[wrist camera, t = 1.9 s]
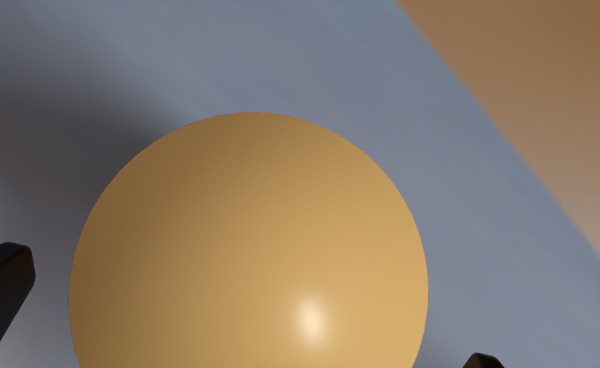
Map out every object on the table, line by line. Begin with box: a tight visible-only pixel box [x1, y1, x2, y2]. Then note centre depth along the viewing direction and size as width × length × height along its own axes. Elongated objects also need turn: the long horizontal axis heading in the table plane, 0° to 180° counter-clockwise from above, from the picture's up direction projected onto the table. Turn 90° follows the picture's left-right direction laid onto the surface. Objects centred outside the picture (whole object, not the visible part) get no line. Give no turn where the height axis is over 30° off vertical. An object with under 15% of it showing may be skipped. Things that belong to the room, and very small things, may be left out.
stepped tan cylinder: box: [68, 112, 428, 368], centre depth 11 cm, size 5×5×12 cm
